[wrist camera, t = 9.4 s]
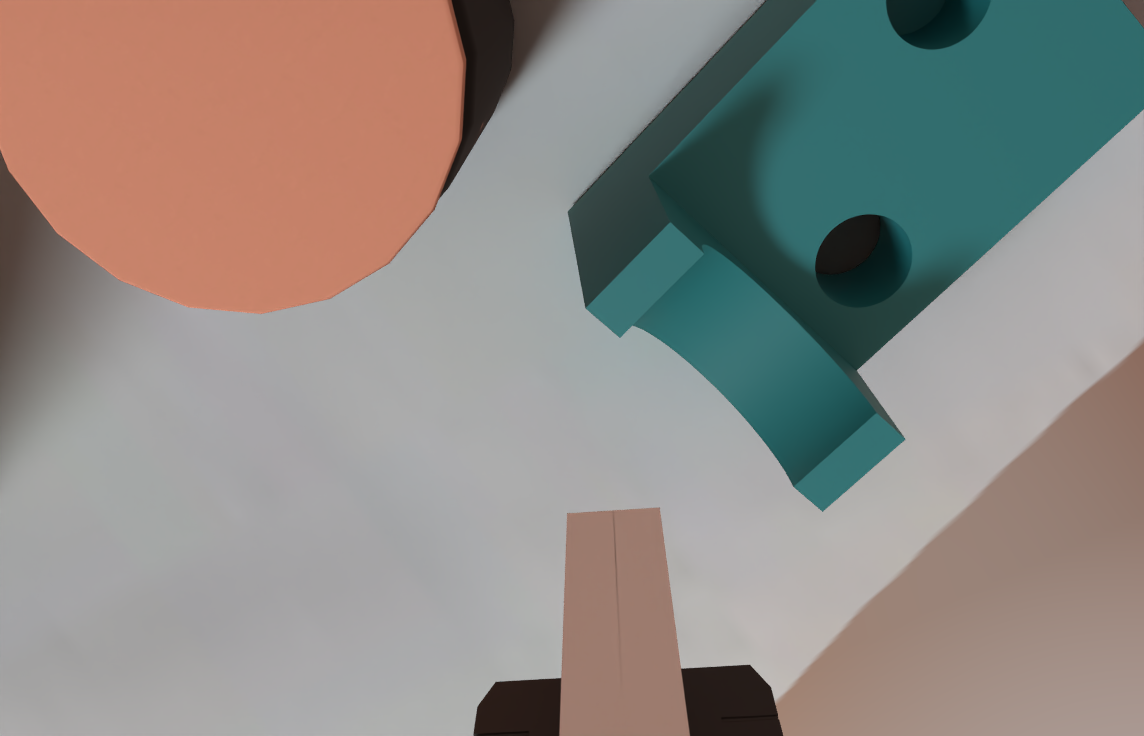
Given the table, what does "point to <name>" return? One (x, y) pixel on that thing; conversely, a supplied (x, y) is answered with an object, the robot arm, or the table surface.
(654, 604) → the robot arm
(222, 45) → the coffee jar
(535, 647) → the table surface
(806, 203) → the teal l-shaped bracket
